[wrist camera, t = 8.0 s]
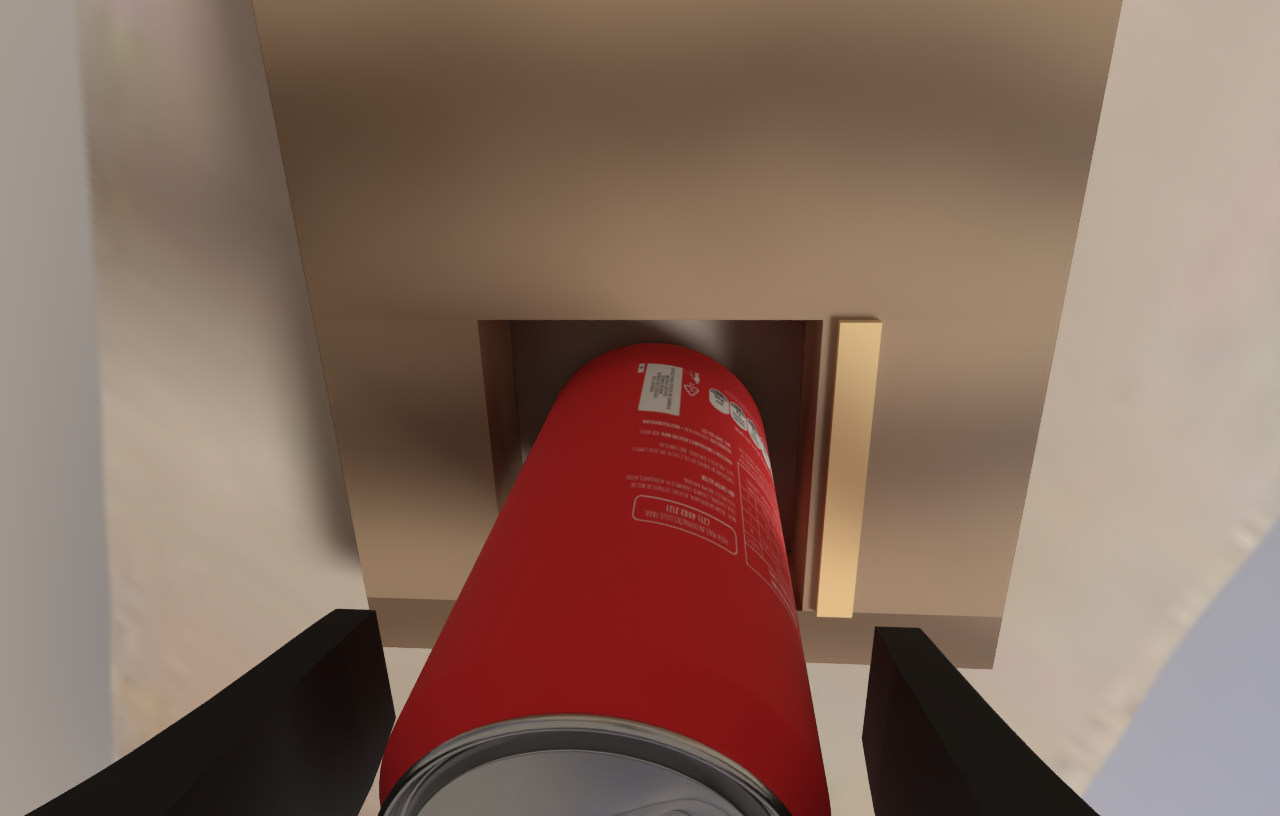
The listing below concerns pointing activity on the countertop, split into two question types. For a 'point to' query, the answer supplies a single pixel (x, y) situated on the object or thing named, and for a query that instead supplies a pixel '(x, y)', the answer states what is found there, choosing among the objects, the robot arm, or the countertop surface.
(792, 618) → the beverage can
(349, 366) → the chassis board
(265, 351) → the countertop surface
